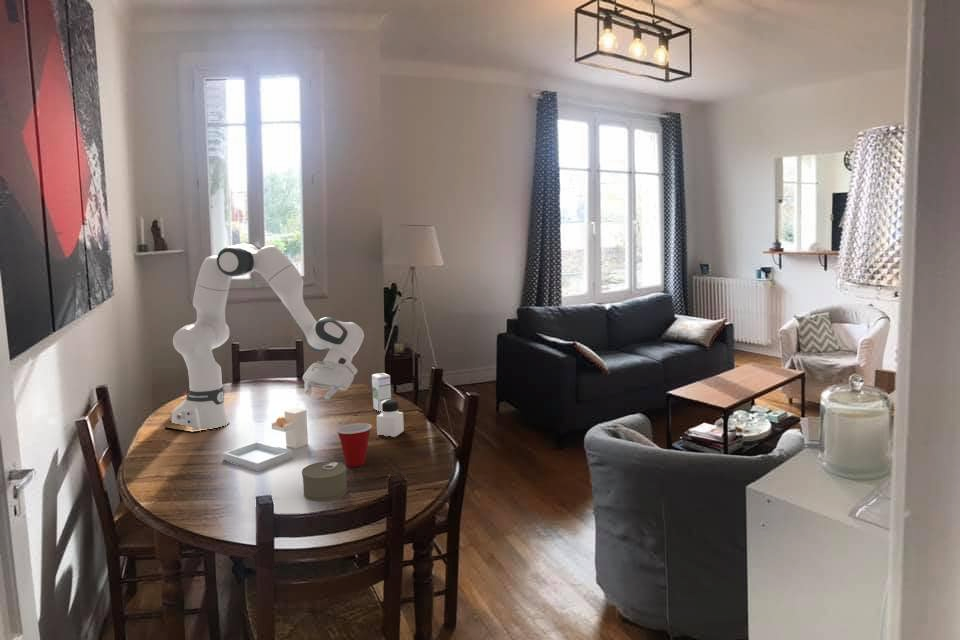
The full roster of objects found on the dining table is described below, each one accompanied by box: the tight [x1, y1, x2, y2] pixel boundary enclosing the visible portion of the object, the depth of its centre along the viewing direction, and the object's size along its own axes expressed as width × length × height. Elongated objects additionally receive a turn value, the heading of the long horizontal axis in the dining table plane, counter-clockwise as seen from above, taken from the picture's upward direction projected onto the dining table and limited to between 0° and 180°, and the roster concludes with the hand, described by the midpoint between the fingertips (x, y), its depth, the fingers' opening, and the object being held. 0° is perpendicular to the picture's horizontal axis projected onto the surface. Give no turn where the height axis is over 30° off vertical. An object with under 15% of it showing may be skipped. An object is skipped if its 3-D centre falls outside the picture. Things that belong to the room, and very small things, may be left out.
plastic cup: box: [335, 422, 372, 468], centre depth 199 cm, size 11×11×12 cm
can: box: [301, 461, 348, 503], centre depth 178 cm, size 12×12×7 cm
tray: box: [222, 441, 293, 472], centre depth 204 cm, size 17×13×2 cm
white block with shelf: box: [271, 407, 309, 449], centre depth 214 cm, size 10×6×12 cm, turn 147°
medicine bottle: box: [376, 398, 405, 438], centre depth 228 cm, size 7×7×12 cm
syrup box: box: [371, 372, 392, 413], centre depth 257 cm, size 6×6×14 cm
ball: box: [275, 416, 286, 427], centre depth 211 cm, size 3×3×3 cm
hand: (316, 396), depth 223 cm, fingers open, 8 cm apart
